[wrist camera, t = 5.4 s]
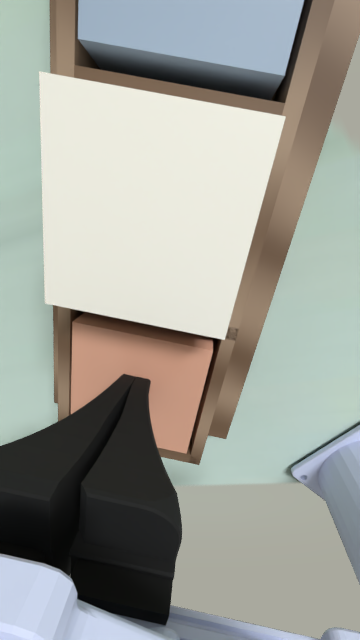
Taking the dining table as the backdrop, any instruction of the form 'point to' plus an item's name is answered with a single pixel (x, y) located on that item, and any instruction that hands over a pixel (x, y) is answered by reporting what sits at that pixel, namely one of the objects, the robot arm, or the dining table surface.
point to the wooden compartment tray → (278, 203)
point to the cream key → (149, 201)
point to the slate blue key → (194, 41)
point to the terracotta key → (143, 370)
